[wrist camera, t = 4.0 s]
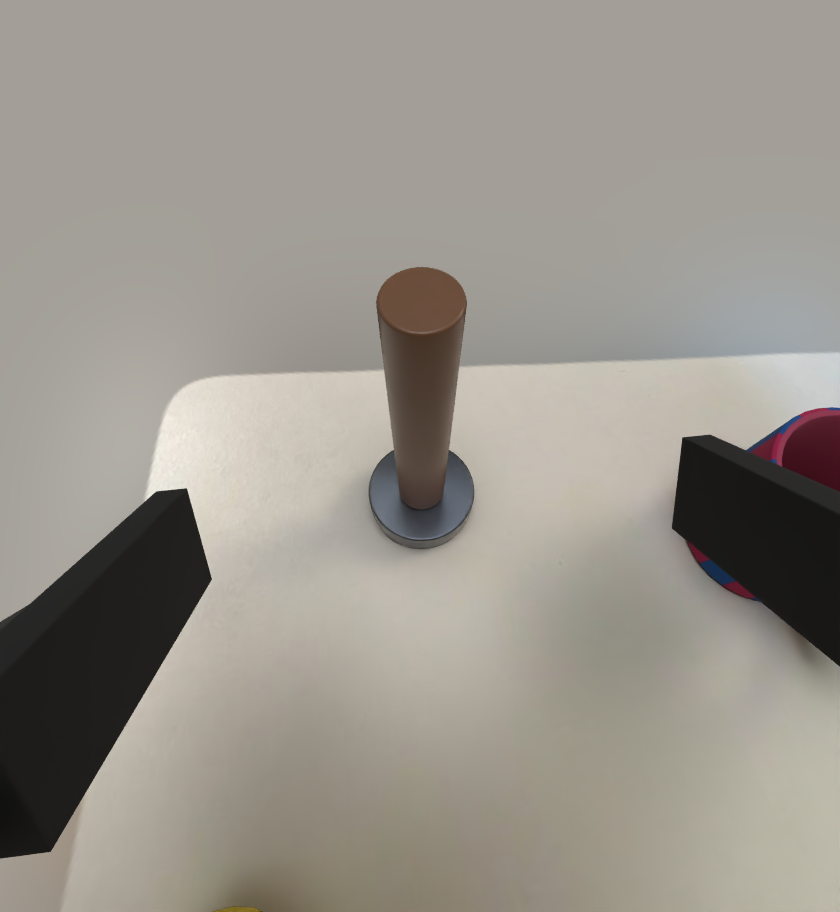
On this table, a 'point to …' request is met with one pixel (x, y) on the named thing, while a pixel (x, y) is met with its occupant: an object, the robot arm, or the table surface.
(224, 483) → the table surface
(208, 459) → the table surface
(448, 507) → the brown rod
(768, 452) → the mug
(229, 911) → the lemon
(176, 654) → the table surface
